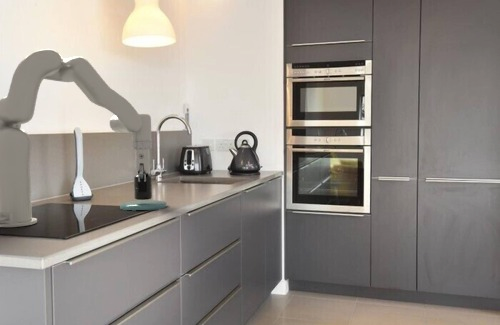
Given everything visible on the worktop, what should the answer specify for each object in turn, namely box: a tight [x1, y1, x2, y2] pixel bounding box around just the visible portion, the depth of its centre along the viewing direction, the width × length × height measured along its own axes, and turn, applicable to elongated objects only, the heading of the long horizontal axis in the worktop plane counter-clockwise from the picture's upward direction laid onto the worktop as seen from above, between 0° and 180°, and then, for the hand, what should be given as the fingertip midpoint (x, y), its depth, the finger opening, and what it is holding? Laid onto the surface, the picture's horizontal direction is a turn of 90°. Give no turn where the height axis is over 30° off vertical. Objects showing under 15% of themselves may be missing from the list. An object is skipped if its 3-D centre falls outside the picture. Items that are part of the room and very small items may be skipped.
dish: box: [119, 199, 168, 212], centre depth 199 cm, size 18×18×2 cm
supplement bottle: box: [133, 171, 153, 201], centre depth 198 cm, size 7×7×12 cm
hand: (143, 190), depth 198 cm, fingers closed on supplement bottle, 6 cm apart
